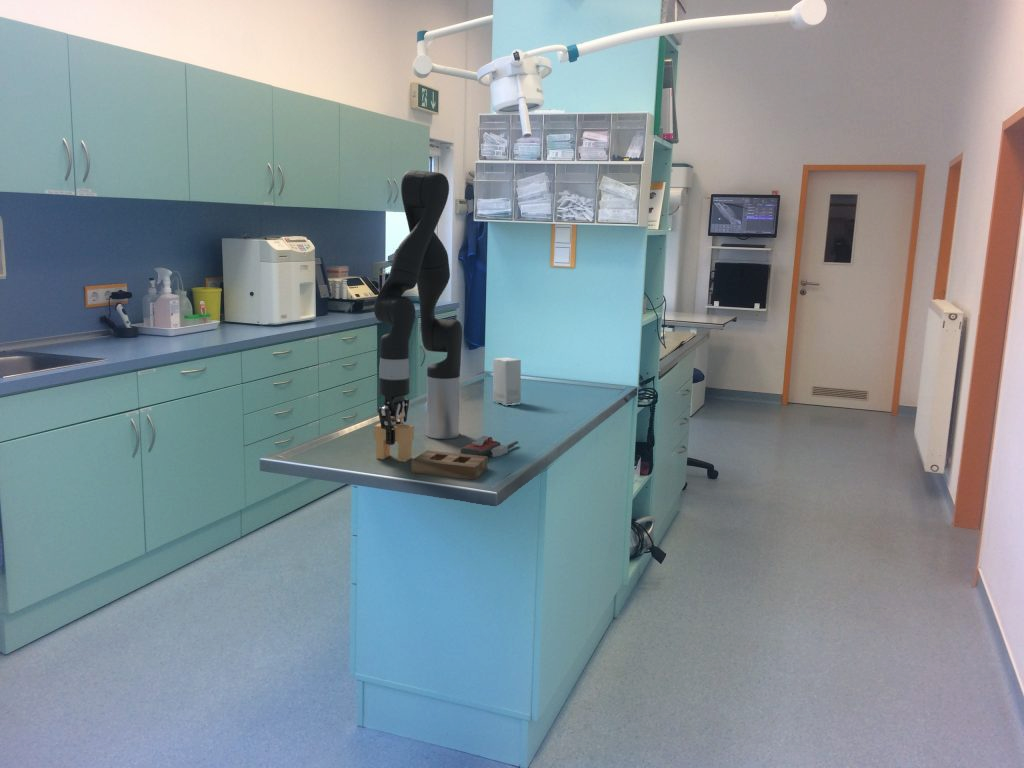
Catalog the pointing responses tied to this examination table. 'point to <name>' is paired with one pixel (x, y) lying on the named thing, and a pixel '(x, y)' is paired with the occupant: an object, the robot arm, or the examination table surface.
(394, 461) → the examination table surface
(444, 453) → the wooden socket block
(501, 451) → the red grey pronged tool
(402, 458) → the tan arch block
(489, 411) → the examination table surface
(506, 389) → the skincare box
